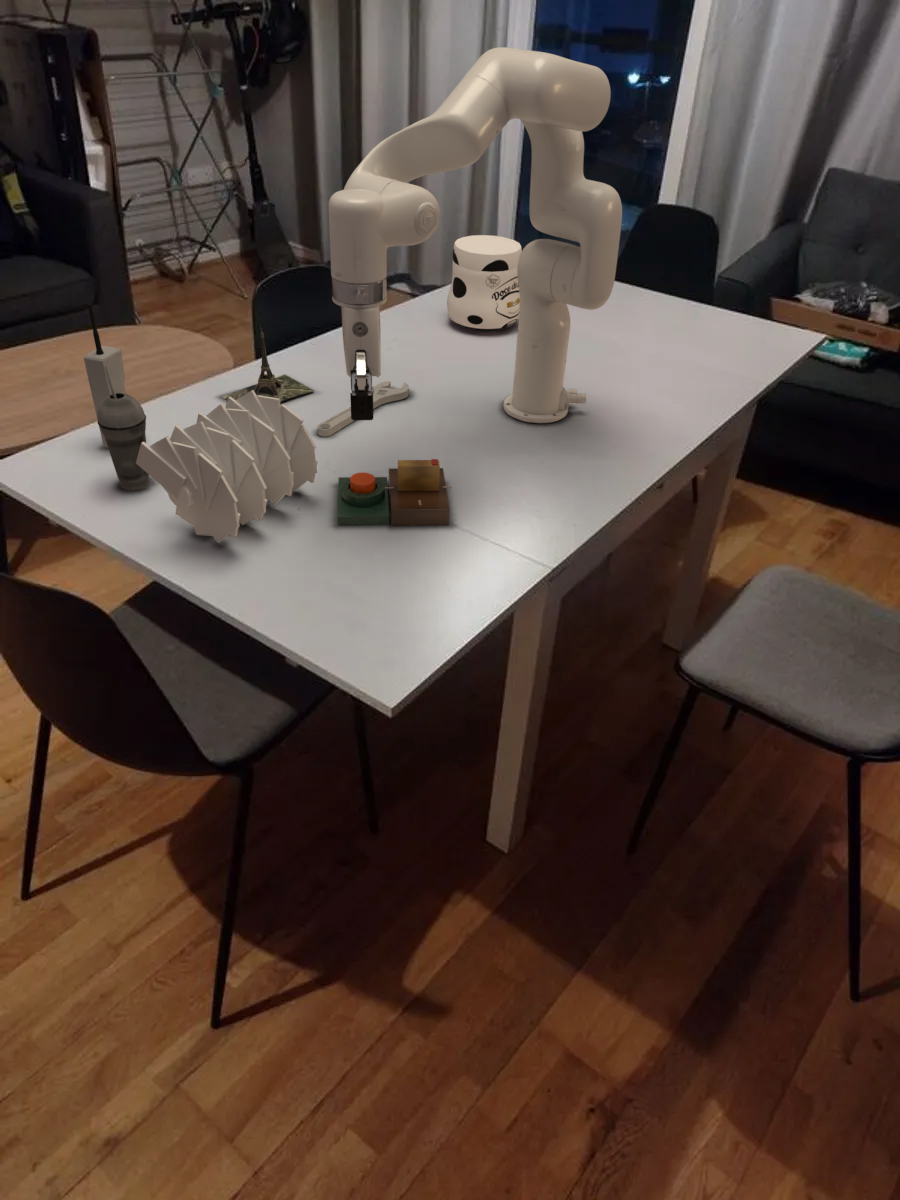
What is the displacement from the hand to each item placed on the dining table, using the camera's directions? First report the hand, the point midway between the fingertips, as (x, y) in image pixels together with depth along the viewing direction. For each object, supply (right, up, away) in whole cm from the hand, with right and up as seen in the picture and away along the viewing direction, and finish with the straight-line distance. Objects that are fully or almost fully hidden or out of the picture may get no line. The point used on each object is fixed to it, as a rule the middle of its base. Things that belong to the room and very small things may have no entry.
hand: (361, 404), depth 131 cm
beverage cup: (-39, -10, +13) cm, 42 cm away
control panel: (+8, -14, +11) cm, 20 cm away
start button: (-1, -11, +9) cm, 14 cm away
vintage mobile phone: (-45, -2, +24) cm, 51 cm away
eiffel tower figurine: (-23, +11, +42) cm, 49 cm away
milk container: (+21, +36, +77) cm, 87 cm away
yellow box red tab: (+8, -11, +10) cm, 17 cm away
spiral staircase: (-20, -15, +8) cm, 26 cm away
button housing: (-1, -14, +11) cm, 18 cm away
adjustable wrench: (-4, +7, +38) cm, 39 cm away
